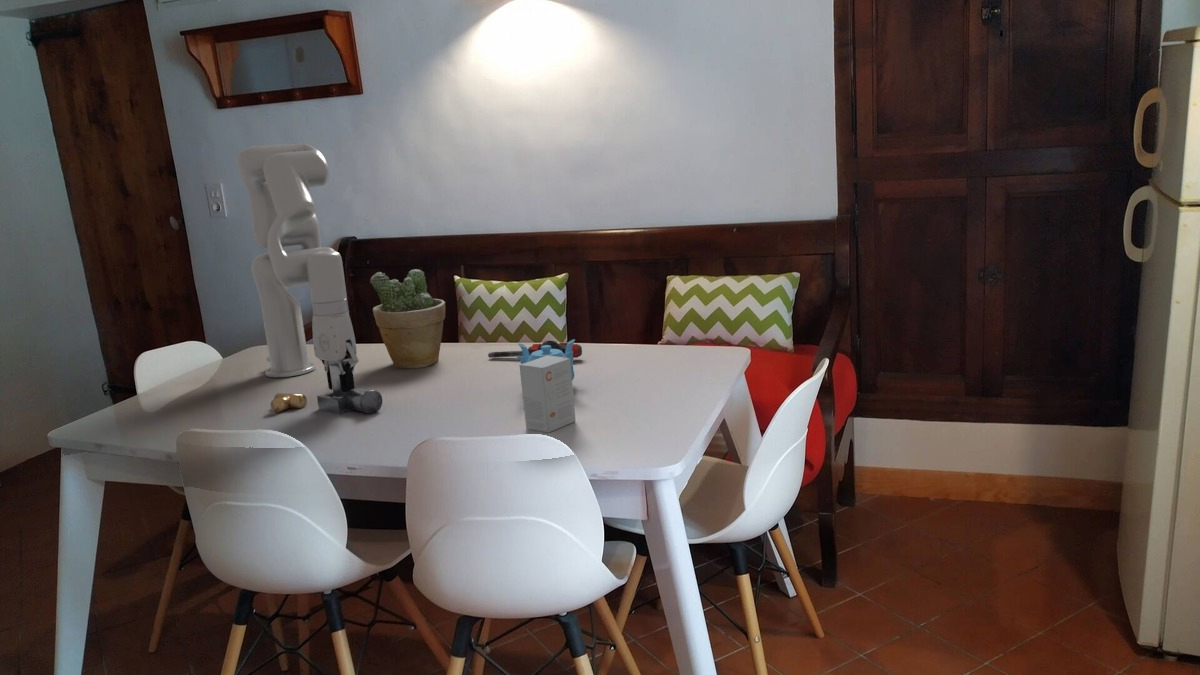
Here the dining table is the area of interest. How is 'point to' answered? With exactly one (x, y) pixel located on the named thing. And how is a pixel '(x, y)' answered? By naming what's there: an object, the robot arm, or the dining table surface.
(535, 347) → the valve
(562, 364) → the small box
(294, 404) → the bronze tee
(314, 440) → the dining table surface
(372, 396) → the grey framed piece
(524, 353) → the teapot
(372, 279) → the potted plant
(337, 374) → the silver capped cylinder
